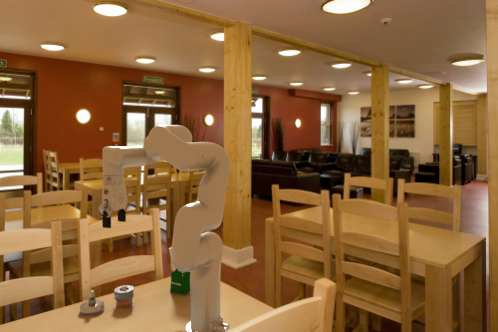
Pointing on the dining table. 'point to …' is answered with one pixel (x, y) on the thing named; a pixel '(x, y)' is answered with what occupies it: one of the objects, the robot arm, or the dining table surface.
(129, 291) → the grey short cylinder
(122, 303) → the stand
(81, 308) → the hub
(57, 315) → the dining table surface
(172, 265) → the milk carton
